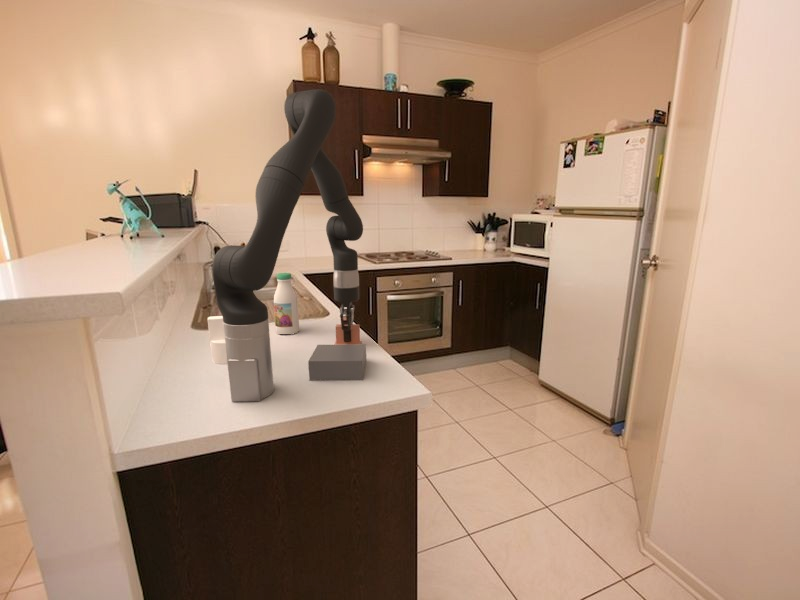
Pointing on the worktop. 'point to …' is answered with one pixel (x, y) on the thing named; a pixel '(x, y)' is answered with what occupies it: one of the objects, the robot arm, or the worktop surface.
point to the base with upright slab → (217, 339)
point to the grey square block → (338, 362)
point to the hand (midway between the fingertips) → (348, 339)
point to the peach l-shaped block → (354, 335)
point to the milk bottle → (285, 306)
